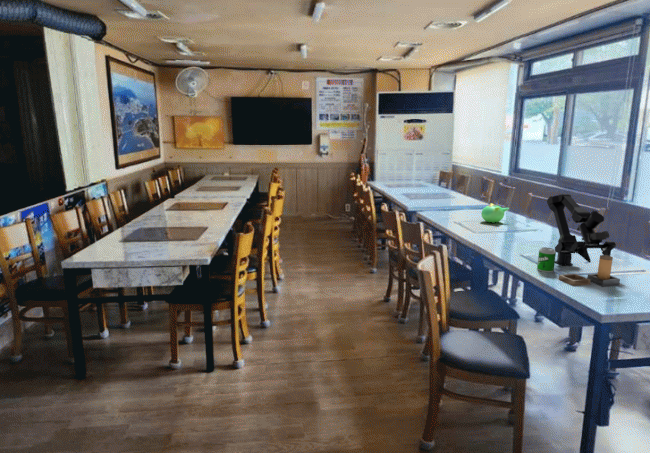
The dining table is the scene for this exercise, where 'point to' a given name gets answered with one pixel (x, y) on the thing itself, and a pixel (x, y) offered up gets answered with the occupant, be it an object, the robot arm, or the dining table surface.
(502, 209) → the toy bird
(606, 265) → the wooden dowel rod
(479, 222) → the dining table surface
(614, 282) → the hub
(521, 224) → the dining table surface
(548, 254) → the soda can
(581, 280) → the stand
